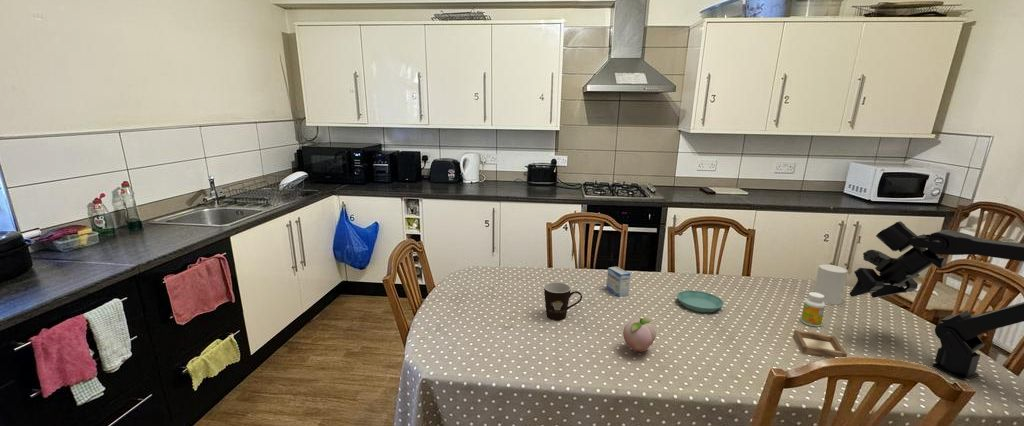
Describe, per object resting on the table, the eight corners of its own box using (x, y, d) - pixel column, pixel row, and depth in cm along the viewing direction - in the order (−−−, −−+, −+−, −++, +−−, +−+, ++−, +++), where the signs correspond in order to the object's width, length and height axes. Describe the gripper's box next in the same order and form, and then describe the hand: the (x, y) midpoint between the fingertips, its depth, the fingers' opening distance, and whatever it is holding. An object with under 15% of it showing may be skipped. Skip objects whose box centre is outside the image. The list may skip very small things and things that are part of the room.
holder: (833, 342, 123) (834, 336, 123) (845, 360, 114) (847, 354, 114) (793, 336, 127) (794, 329, 126) (802, 353, 117) (803, 346, 117)
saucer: (732, 311, 142) (733, 304, 142) (699, 318, 137) (699, 311, 136) (699, 294, 156) (699, 287, 155) (667, 300, 150) (667, 293, 150)
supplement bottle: (796, 320, 136) (802, 292, 134) (808, 317, 138) (813, 290, 136) (813, 328, 131) (819, 299, 129) (825, 325, 133) (831, 296, 131)
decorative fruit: (630, 339, 124) (632, 307, 121) (657, 349, 119) (661, 316, 116) (615, 352, 117) (618, 319, 114) (644, 363, 112) (647, 329, 109)
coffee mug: (538, 318, 135) (539, 289, 133) (549, 307, 143) (550, 280, 141) (573, 327, 130) (574, 297, 128) (582, 315, 138) (583, 287, 135)
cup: (845, 305, 147) (852, 273, 145) (819, 303, 149) (825, 271, 146) (833, 296, 155) (839, 265, 152) (808, 294, 157) (814, 263, 154)
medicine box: (605, 289, 159) (607, 267, 157) (615, 287, 161) (617, 265, 159) (619, 297, 152) (621, 274, 150) (629, 295, 154) (631, 272, 152)
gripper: (908, 244, 124) (863, 275, 135) (865, 239, 118) (821, 272, 129) (940, 275, 117) (890, 305, 127) (895, 272, 111) (846, 304, 121)
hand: (861, 295), depth 126 cm, fingers open, 9 cm apart
